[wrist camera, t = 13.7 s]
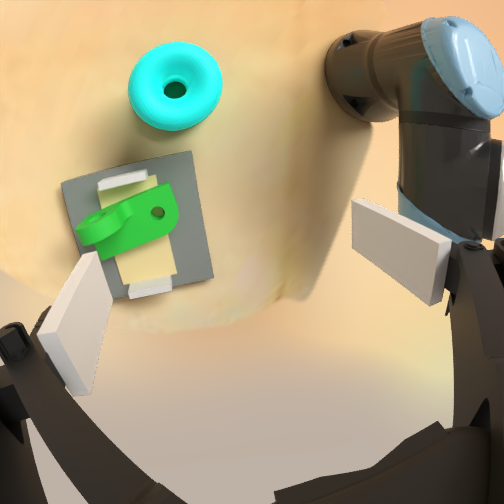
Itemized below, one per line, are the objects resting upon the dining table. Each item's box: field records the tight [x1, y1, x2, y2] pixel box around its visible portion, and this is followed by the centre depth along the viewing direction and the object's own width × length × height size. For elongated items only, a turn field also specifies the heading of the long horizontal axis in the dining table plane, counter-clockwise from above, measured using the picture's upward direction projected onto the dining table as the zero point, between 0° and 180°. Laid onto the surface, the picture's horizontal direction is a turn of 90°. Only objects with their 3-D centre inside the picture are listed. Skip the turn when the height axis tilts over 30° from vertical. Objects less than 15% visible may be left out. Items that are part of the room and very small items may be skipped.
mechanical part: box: [75, 181, 179, 261], centre depth 36 cm, size 12×6×8 cm, turn 107°
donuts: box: [128, 42, 223, 131], centre depth 32 cm, size 10×10×10 cm
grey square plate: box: [61, 151, 214, 299], centre depth 40 cm, size 18×18×5 cm
